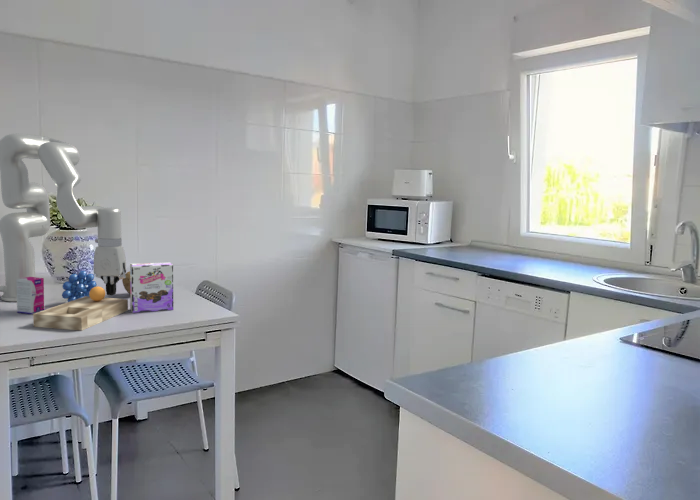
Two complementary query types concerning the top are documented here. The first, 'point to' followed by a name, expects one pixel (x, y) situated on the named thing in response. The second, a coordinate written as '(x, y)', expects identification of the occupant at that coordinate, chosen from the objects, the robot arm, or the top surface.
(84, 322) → the wooden tray with pocket
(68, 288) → the grapes
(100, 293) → the ball
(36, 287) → the supplement box
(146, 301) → the candy box
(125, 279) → the natural sponge
